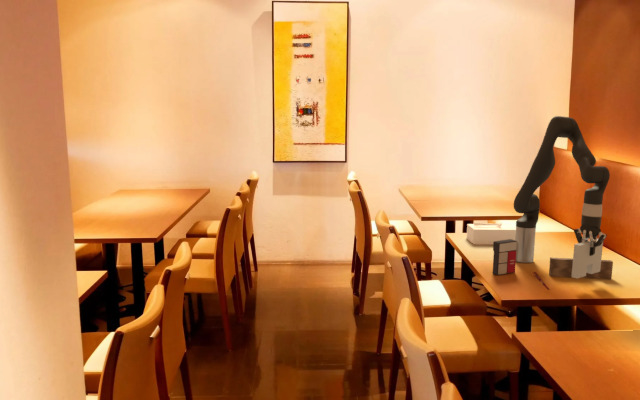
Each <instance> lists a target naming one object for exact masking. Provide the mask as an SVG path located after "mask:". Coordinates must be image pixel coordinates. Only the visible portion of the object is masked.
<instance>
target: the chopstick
mask: <svg viewBox="0 0 640 400" xmlns="http://www.w3.org/2000/svg"><path fill="white" fill-rule="evenodd" d="M531 274H532V275H533V277H535V278H536V279H537V280H538V282H539V283H541V284H542V286H544V287H545V288H546V289H547V290H548V291H549V290H550V288H549V287H548V286H547V284H546V283H545V281H544V280H543V279H542V278H541V277H540V276H539V273H537V272H536V271H534V272H533V271H532V272H531Z"/></svg>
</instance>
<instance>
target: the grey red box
mask: <svg viewBox="0 0 640 400" xmlns="http://www.w3.org/2000/svg"><path fill="white" fill-rule="evenodd" d="M492 245H493V246H492V251H493V258H492V259H493V261H492V274H493V275H496V276H501V275H502V276H503V275H508V274H513V273H515V272H516V265H517V263H516V246H517V241H515V240H512V239H509V240H501V241H494V242H493V244H492Z"/></svg>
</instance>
